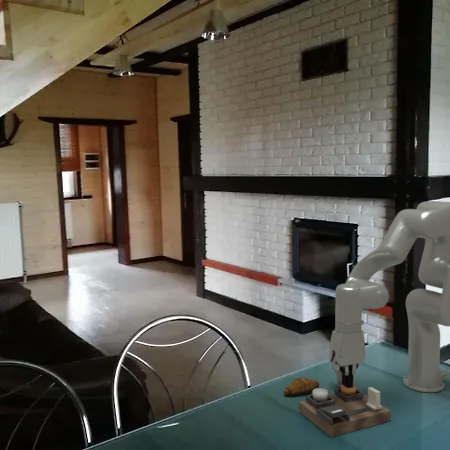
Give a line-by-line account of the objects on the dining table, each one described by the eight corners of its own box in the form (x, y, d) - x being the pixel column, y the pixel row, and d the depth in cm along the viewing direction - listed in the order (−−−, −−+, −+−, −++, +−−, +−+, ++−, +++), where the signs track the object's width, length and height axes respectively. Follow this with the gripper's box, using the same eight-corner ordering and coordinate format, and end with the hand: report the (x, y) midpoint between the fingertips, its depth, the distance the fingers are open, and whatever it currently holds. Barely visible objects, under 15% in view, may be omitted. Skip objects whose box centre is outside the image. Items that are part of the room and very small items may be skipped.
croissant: (291, 401, 155) (291, 385, 155) (278, 393, 161) (278, 378, 161) (325, 391, 162) (325, 376, 161) (312, 383, 168) (311, 369, 167)
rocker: (333, 408, 141) (332, 405, 141) (346, 414, 136) (345, 410, 136) (319, 412, 139) (319, 408, 139) (332, 418, 134) (332, 413, 134)
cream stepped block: (373, 403, 145) (373, 386, 145) (382, 408, 142) (382, 391, 142) (365, 405, 144) (365, 388, 144) (374, 410, 141) (374, 393, 140)
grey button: (322, 392, 149) (322, 387, 149) (331, 398, 145) (331, 392, 145) (309, 395, 148) (309, 390, 147) (318, 401, 144) (318, 395, 143)
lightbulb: (351, 392, 160) (351, 358, 159) (332, 391, 161) (332, 358, 160) (350, 384, 166) (350, 352, 165) (332, 383, 167) (331, 351, 166)
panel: (354, 398, 156) (354, 383, 156) (390, 420, 141) (390, 404, 141) (298, 411, 148) (298, 396, 148) (330, 437, 134) (330, 420, 133)
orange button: (349, 387, 153) (349, 381, 153) (359, 393, 149) (359, 387, 149) (337, 390, 152) (337, 384, 151) (346, 396, 148) (346, 390, 147)
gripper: (360, 319, 155) (359, 377, 156) (319, 326, 149) (319, 385, 151) (377, 326, 148) (376, 386, 150) (334, 333, 142) (334, 395, 144)
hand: (347, 386), depth 150 cm, fingers closed
